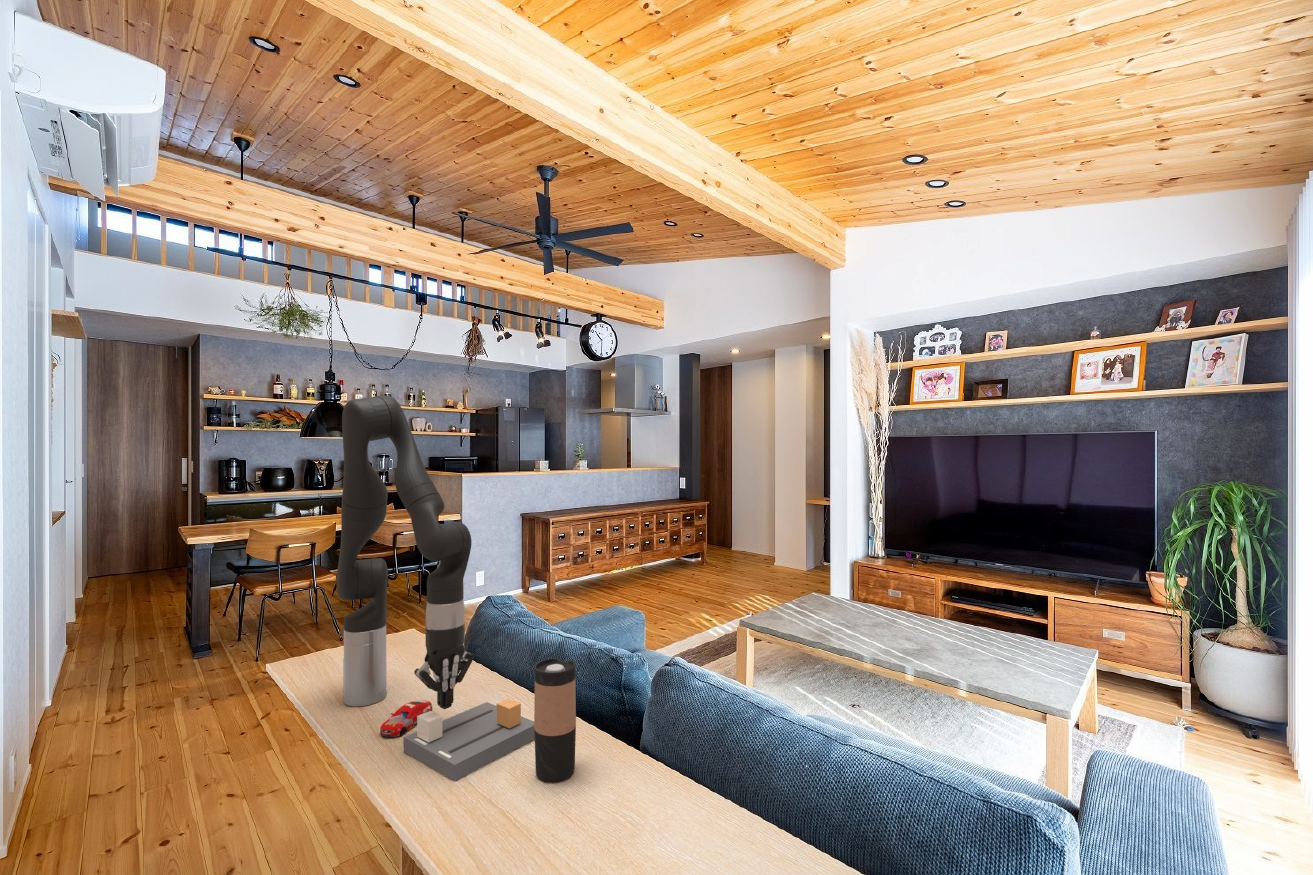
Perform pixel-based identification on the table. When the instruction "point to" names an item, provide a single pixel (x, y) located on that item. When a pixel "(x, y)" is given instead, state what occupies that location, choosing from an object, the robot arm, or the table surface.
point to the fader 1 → (429, 726)
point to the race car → (404, 718)
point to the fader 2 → (508, 713)
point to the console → (469, 742)
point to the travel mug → (555, 720)
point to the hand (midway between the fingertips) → (445, 707)
